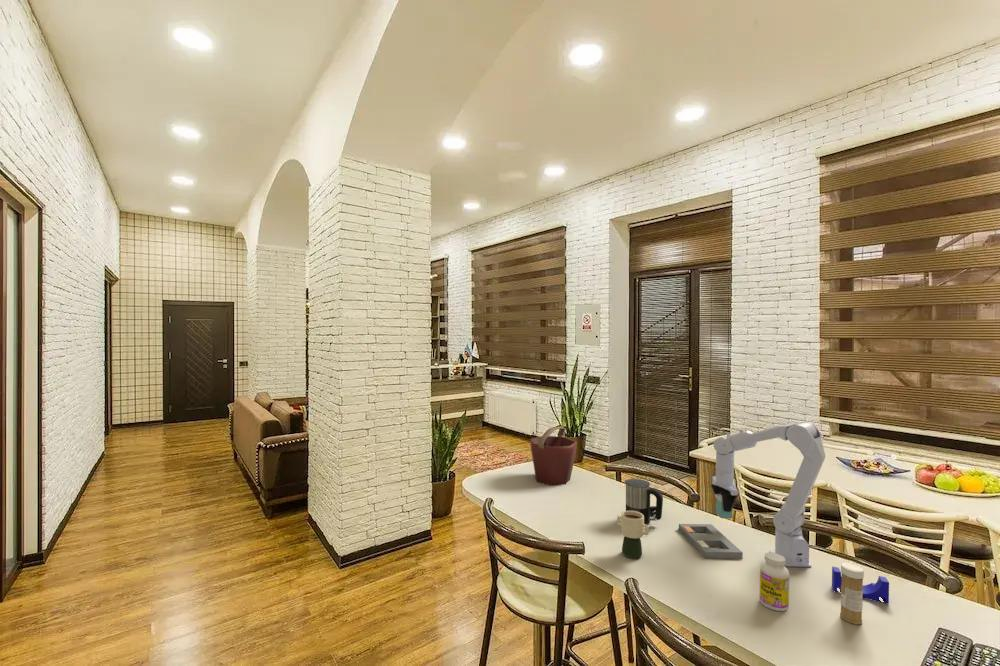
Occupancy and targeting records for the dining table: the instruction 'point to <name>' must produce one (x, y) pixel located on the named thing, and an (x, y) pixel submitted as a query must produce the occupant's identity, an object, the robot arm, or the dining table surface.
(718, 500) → the plug
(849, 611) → the sprinkles bottle
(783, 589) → the supplement bottle
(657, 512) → the milk frother
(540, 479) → the bucket
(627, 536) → the character mug
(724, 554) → the socket plate
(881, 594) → the cable clip
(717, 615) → the dining table surface
